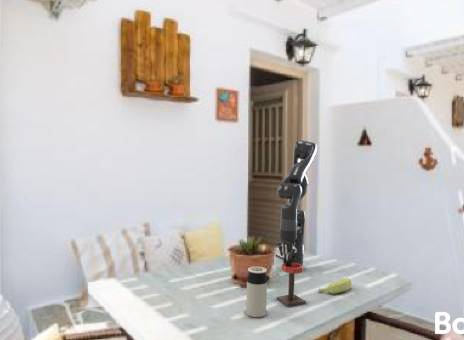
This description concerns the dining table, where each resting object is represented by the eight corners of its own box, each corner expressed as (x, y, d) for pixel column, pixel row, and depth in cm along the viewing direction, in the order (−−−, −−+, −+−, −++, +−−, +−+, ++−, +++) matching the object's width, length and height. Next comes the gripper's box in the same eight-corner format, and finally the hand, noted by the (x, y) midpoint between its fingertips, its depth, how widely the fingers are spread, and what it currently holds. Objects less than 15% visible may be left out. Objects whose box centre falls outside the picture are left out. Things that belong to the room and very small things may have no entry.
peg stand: (276, 299, 170) (277, 269, 169) (293, 296, 174) (294, 267, 174) (287, 307, 162) (288, 275, 161) (305, 303, 166) (306, 273, 166)
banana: (359, 276, 182) (323, 285, 175) (362, 288, 182) (326, 298, 174) (342, 274, 195) (308, 283, 187) (345, 286, 194) (311, 295, 187)
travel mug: (251, 319, 149) (252, 273, 148) (243, 311, 156) (244, 267, 156) (269, 316, 152) (270, 271, 151) (260, 308, 160) (262, 265, 159)
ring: (278, 268, 169) (278, 263, 169) (295, 265, 173) (295, 261, 173) (289, 274, 162) (289, 269, 161) (306, 271, 166) (306, 267, 166)
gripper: (304, 230, 166) (303, 270, 166) (287, 225, 178) (285, 262, 179) (290, 232, 162) (288, 272, 163) (273, 226, 174) (271, 264, 175)
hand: (287, 267), depth 171 cm, fingers closed on ring, 1 cm apart
